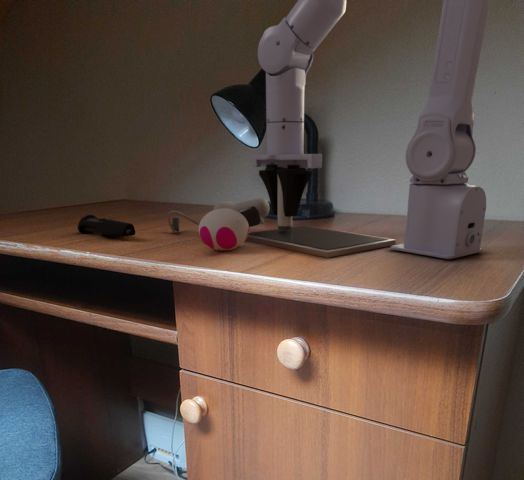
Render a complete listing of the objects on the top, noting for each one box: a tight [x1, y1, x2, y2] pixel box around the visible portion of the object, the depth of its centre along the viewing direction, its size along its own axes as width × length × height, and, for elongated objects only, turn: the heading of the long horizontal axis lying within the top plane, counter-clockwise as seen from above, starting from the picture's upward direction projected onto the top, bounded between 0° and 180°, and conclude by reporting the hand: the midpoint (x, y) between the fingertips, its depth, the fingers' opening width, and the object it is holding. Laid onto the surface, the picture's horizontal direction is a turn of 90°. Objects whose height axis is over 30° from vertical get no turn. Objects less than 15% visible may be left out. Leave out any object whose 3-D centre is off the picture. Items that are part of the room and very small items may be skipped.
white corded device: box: [167, 196, 271, 234], centre depth 84 cm, size 12×6×18 cm
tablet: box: [245, 225, 397, 259], centre depth 76 cm, size 20×14×1 cm
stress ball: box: [197, 208, 250, 254], centre depth 70 cm, size 8×8×7 cm
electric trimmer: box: [77, 214, 136, 238], centre depth 83 cm, size 4×16×3 cm, turn 45°
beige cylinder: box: [277, 174, 293, 230], centre depth 79 cm, size 2×2×9 cm
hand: (285, 215), depth 80 cm, fingers closed on beige cylinder, 2 cm apart
